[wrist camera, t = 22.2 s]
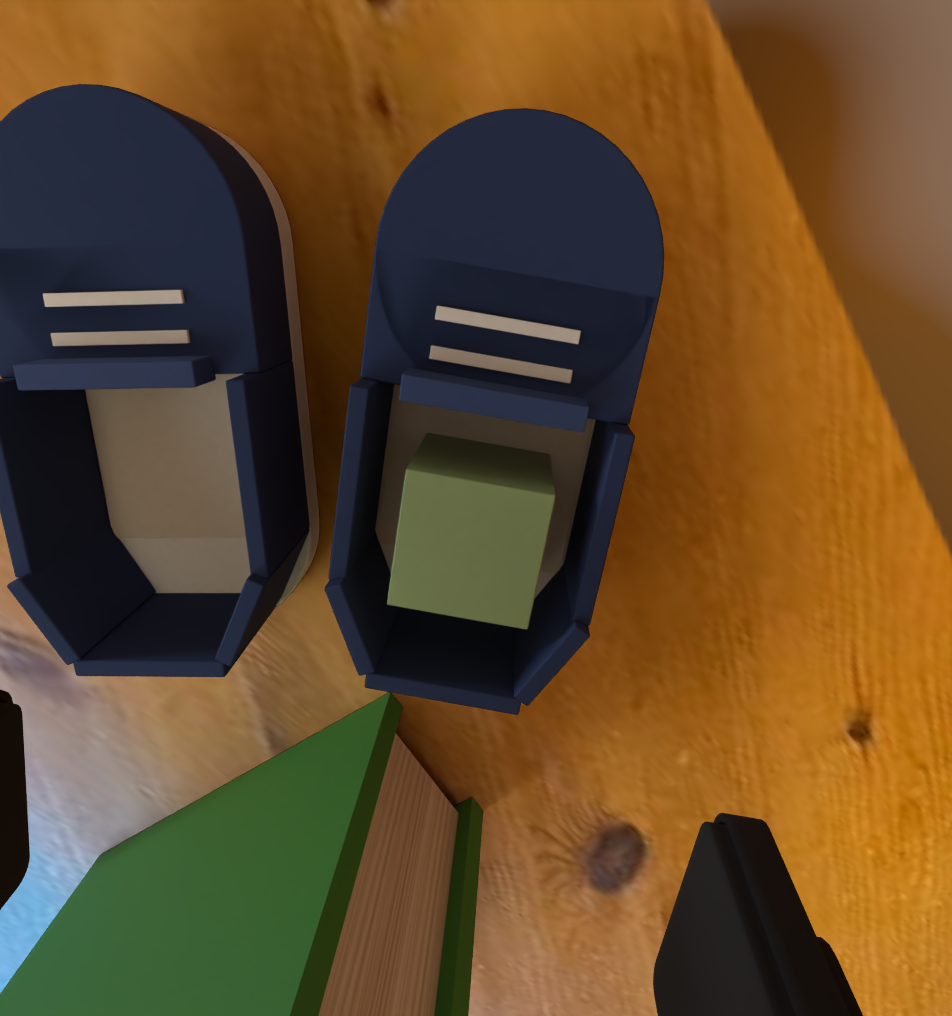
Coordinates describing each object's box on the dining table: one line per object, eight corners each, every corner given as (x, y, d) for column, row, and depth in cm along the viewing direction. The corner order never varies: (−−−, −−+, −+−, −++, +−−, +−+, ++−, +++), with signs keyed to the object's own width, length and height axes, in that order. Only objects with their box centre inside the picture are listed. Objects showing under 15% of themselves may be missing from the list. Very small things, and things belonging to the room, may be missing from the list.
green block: (427, 431, 27) (405, 468, 22) (550, 453, 27) (556, 495, 22) (409, 546, 29) (386, 605, 24) (527, 567, 29) (527, 630, 24)
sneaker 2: (417, 117, 25) (380, 65, 19) (665, 161, 25) (714, 123, 19) (355, 611, 31) (310, 702, 25) (555, 646, 31) (563, 747, 25)
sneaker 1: (42, 122, 26) (-120, 73, 20) (280, 111, 26) (196, 58, 19) (133, 610, 32) (33, 699, 25) (329, 611, 31) (278, 701, 25)
